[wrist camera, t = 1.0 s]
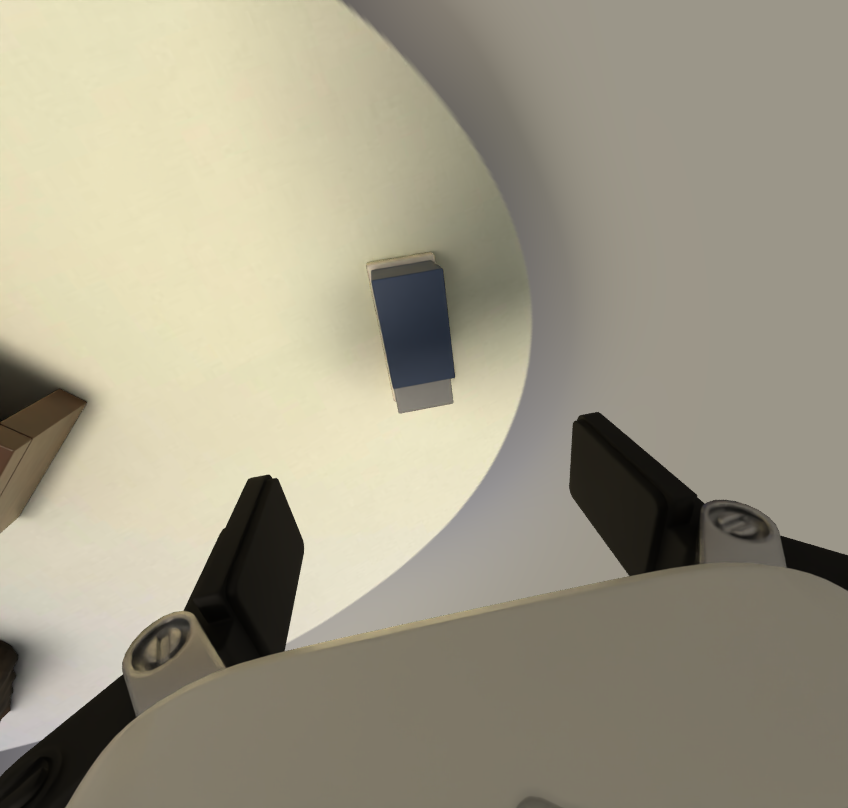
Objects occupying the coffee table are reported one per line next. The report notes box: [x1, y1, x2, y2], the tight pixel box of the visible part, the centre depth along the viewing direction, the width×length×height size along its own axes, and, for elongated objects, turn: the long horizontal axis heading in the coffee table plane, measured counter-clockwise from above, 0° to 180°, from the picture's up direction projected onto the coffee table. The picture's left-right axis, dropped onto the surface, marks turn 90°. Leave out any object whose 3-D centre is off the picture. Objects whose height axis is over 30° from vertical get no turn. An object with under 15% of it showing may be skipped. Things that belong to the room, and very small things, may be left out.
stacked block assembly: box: [366, 252, 455, 413], centre depth 22 cm, size 9×4×5 cm, turn 8°
